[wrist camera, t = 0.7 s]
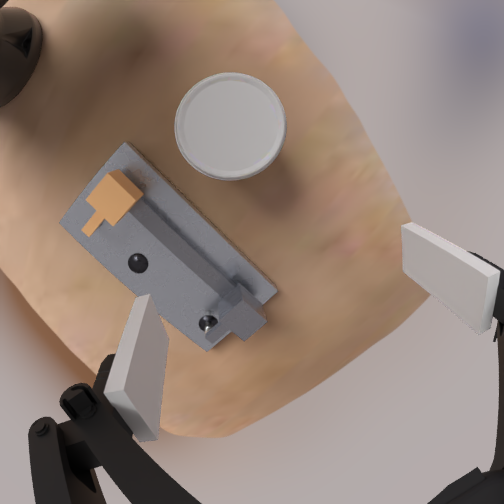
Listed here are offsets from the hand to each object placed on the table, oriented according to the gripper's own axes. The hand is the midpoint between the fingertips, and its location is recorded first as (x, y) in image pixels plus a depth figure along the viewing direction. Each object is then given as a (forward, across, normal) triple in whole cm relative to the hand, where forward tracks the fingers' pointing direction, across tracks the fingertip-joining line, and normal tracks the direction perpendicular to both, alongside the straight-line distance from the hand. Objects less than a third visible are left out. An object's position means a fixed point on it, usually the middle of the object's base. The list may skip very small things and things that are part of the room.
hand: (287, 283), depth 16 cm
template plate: (+24, -10, -5) cm, 27 cm away
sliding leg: (+22, -14, +3) cm, 27 cm away
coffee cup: (+25, 0, +8) cm, 26 cm away
